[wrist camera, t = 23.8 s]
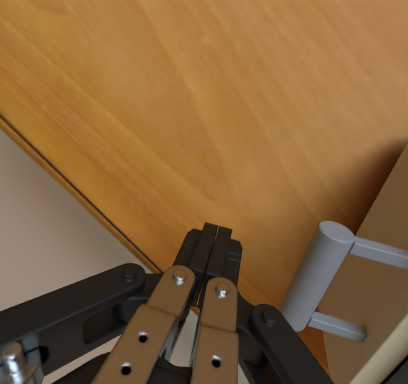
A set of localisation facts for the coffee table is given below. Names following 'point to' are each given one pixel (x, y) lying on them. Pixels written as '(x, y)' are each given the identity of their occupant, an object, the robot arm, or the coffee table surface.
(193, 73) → the coffee table surface
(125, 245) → the coffee table surface
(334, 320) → the drawer
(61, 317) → the robot arm
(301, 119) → the coffee table surface
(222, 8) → the coffee table surface
